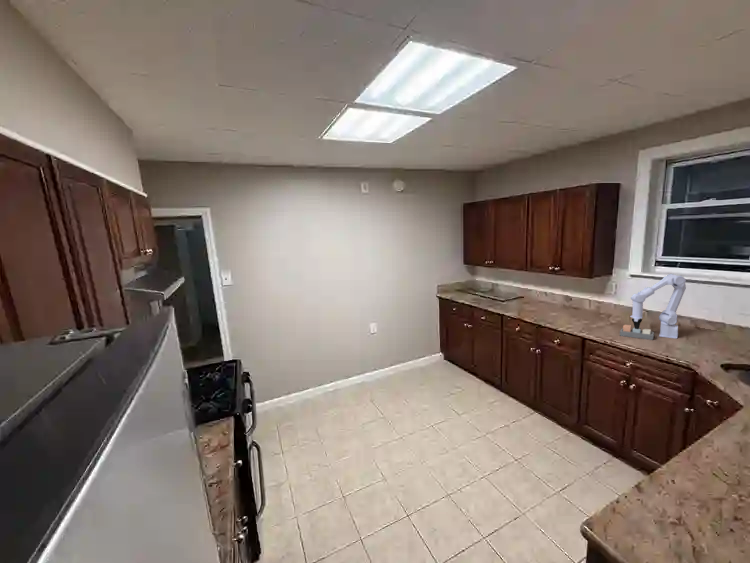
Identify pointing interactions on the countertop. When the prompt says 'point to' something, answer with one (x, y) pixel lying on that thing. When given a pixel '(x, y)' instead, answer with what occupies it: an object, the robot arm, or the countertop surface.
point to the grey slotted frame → (637, 334)
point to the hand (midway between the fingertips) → (636, 328)
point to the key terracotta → (627, 328)
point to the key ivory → (646, 331)
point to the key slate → (637, 330)
